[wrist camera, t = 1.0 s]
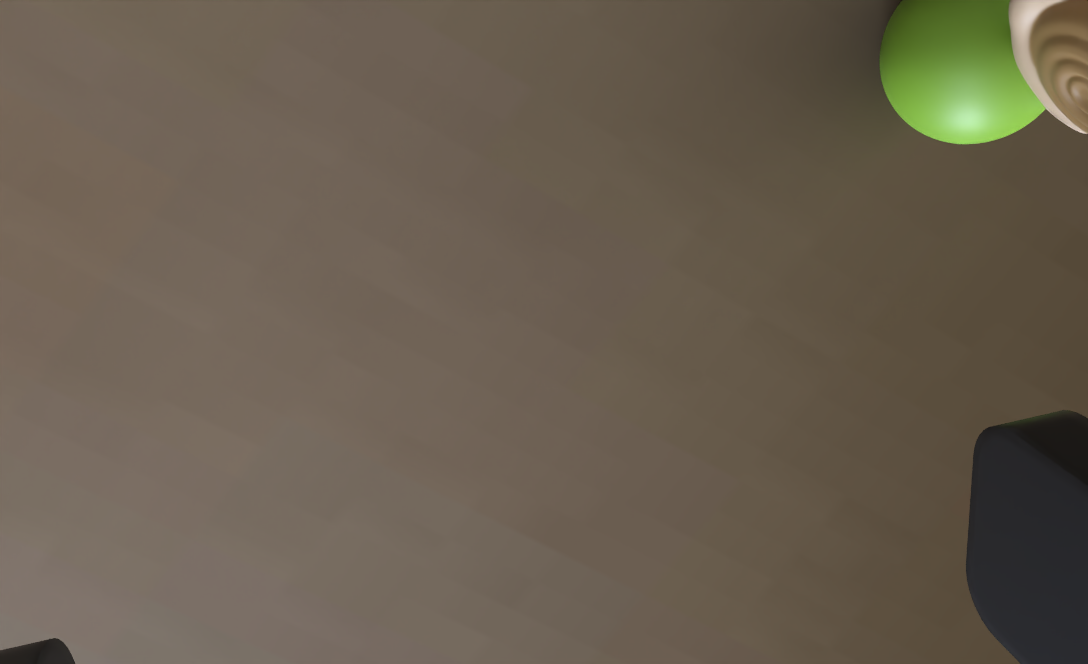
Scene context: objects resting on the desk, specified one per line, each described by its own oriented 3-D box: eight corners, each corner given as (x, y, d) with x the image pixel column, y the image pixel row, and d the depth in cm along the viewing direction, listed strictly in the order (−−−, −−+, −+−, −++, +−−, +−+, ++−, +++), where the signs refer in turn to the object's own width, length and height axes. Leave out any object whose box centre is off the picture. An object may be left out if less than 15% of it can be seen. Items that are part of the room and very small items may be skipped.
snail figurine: (937, -100, 32) (1283, -161, 21) (1018, 67, 34) (1367, 92, 23) (803, 6, 32) (1077, 2, 21) (893, 166, 34) (1181, 239, 23)
